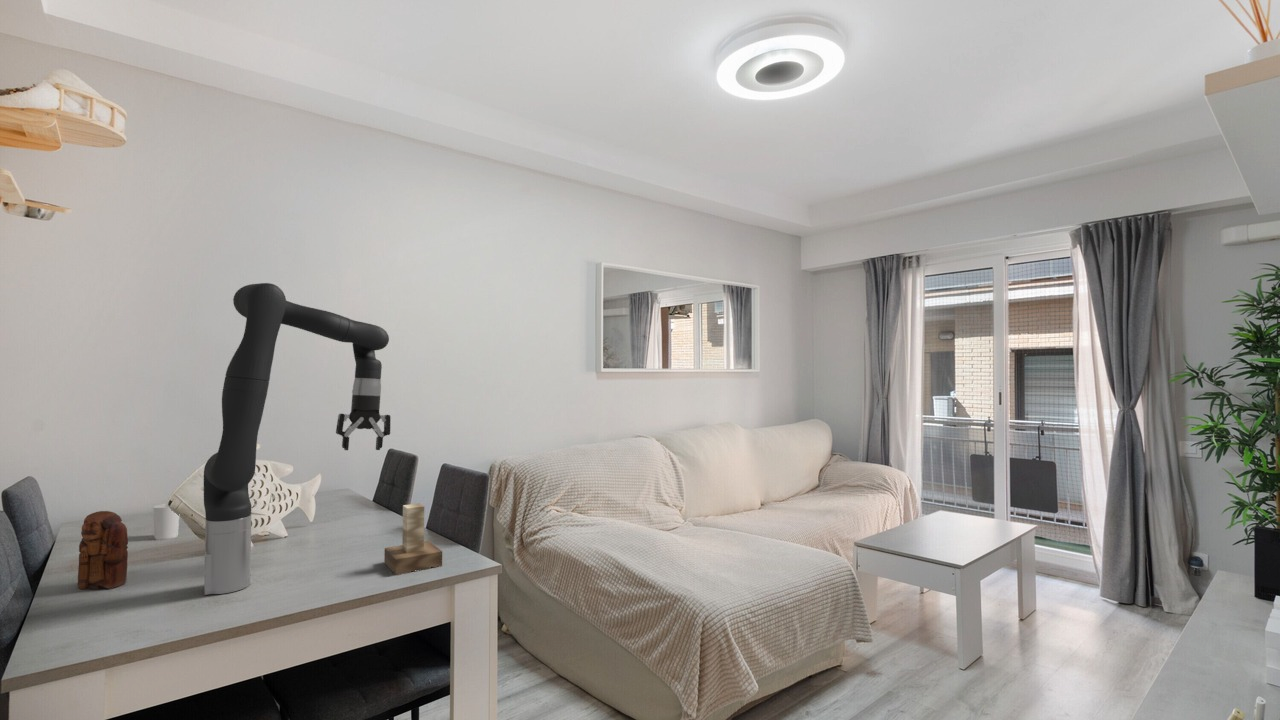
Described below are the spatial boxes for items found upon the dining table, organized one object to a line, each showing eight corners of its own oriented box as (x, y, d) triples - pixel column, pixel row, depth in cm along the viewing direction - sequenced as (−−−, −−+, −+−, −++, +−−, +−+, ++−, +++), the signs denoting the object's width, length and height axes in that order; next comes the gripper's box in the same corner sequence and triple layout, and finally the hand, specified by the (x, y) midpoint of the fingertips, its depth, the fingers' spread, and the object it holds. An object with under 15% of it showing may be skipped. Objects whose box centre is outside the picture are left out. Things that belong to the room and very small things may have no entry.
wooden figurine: (65, 589, 143) (66, 514, 143) (91, 579, 149) (92, 508, 149) (111, 590, 142) (112, 515, 142) (135, 581, 148) (136, 509, 149)
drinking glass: (179, 533, 191) (179, 501, 192) (180, 537, 186) (180, 505, 186) (152, 536, 187) (153, 504, 187) (152, 541, 182) (153, 508, 182)
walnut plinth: (395, 574, 154) (396, 559, 154) (384, 562, 164) (384, 548, 164) (442, 566, 161) (442, 551, 161) (428, 554, 171) (428, 540, 171)
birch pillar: (406, 553, 159) (407, 508, 160) (402, 549, 163) (402, 505, 163) (423, 550, 162) (424, 506, 162) (419, 546, 166) (419, 503, 166)
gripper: (342, 393, 166) (337, 451, 165) (395, 395, 175) (391, 450, 174) (337, 393, 172) (332, 449, 171) (388, 395, 181) (384, 448, 179)
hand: (362, 450), depth 172 cm, fingers open, 8 cm apart
